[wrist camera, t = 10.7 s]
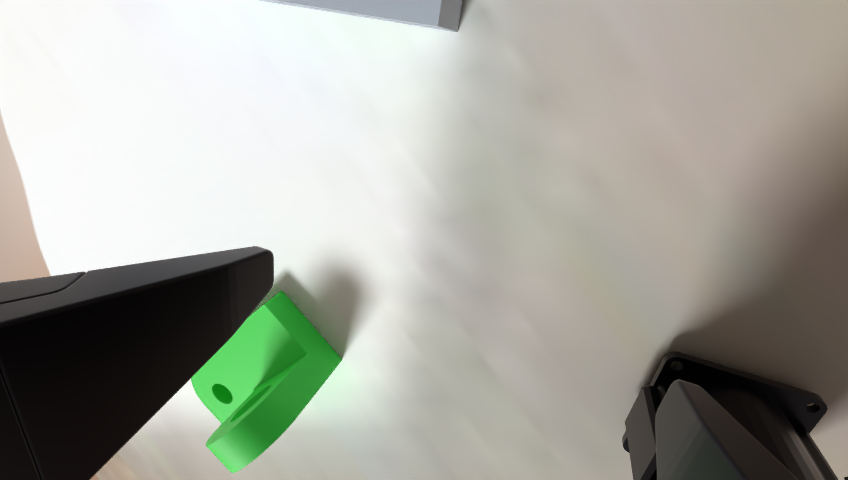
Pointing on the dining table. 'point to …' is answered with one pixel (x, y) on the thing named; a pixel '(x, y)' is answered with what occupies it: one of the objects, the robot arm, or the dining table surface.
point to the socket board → (392, 10)
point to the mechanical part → (262, 380)
